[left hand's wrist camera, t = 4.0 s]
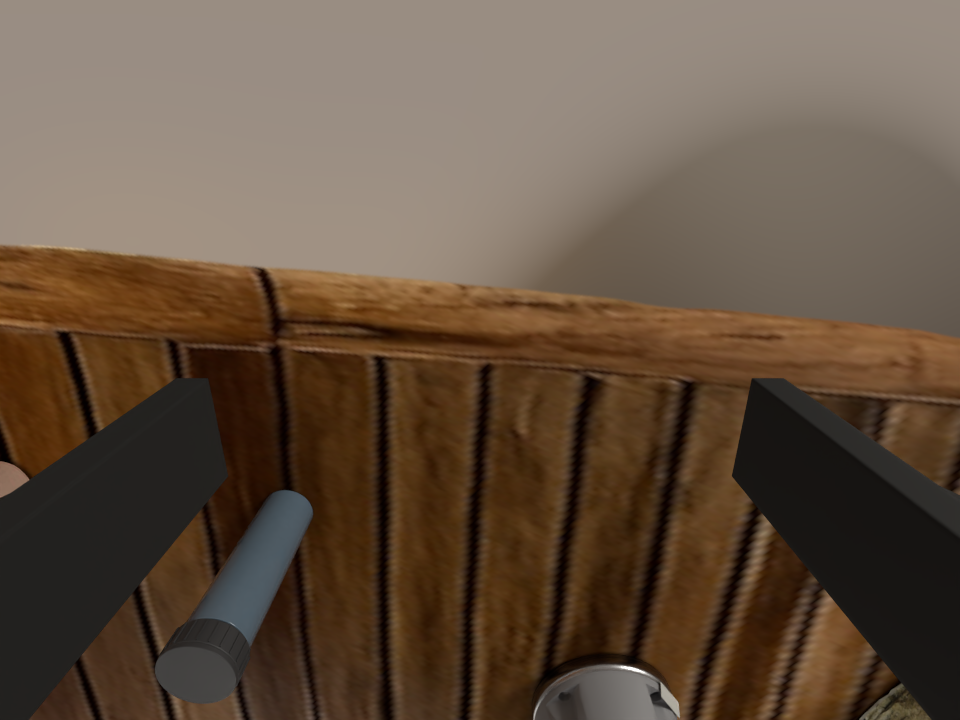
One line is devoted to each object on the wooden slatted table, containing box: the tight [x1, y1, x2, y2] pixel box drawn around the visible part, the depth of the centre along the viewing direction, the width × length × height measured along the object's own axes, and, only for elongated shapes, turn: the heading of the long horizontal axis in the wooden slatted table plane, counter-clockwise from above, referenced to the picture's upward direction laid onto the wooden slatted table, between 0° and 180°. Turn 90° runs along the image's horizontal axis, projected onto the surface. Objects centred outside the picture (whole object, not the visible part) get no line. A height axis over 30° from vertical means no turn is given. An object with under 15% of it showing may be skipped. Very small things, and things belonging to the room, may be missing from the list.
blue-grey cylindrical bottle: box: [187, 490, 313, 647], centre depth 40 cm, size 5×5×16 cm
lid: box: [155, 619, 251, 704], centre depth 33 cm, size 5×5×2 cm
